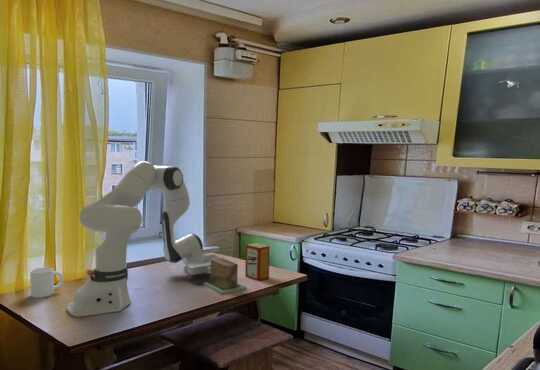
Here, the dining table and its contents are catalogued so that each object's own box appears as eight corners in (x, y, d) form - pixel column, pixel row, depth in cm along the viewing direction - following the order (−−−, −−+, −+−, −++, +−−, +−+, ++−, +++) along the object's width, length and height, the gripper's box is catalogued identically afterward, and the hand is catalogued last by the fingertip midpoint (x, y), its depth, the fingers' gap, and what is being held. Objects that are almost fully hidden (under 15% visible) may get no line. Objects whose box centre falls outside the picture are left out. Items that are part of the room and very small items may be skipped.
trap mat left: (197, 285, 186) (197, 284, 186) (187, 279, 194) (187, 278, 194) (207, 283, 189) (207, 282, 189) (197, 277, 197) (197, 277, 197)
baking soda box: (245, 276, 201) (245, 243, 199) (255, 274, 205) (255, 242, 204) (258, 281, 194) (259, 247, 193) (268, 278, 198) (269, 245, 197)
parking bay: (220, 294, 175) (220, 292, 174) (203, 284, 187) (203, 282, 187) (246, 288, 182) (246, 286, 182) (228, 279, 195) (228, 277, 195)
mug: (61, 288, 178) (61, 265, 177) (65, 294, 172) (65, 269, 171) (29, 293, 171) (28, 269, 170) (32, 299, 164) (31, 274, 164)
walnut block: (225, 291, 179) (225, 266, 178) (210, 283, 189) (210, 259, 188) (237, 288, 182) (237, 264, 181) (222, 281, 193) (222, 257, 192)
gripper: (181, 260, 195) (195, 267, 184) (220, 254, 207) (234, 260, 196) (181, 273, 195) (195, 281, 184) (219, 267, 208) (234, 274, 197)
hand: (216, 270), depth 190 cm, fingers closed, pressing on walnut block
